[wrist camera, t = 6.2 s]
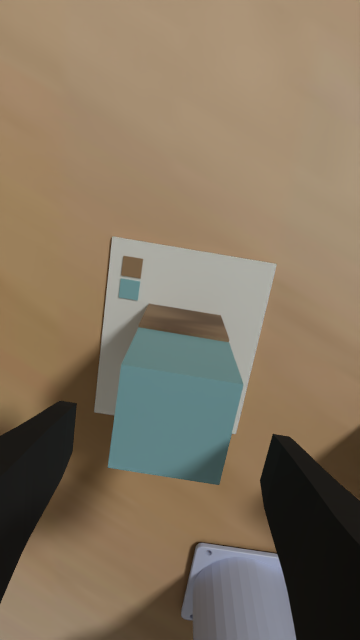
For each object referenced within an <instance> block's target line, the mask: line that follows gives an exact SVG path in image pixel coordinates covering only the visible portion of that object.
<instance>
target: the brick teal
mask: <svg viewBox="0 0 360 640" xmlns="http://www.w3.org/2000/svg"><path fill="white" fill-rule="evenodd" d="M243 385H244V384H243V381H242V378H241V375H240V372H239V370H238V367H237V364H236V361H235V358H234V355H233V352H232V349H231V346H230V343H229V342H223V341H217V340H211V339H206V338H200V337H194V336H188V335H182V334H176V333H170V332H164V331H158V330H152V329H146V328H140V327H138V330H137V332H136V334H135V336H134V338H133V340H132V342H131V345H130V347H129V349H128V351H127V353H126V355H125V357H124V360H123V362H122V364H121V370H120V378H119V385H118V393H117V401H116V408H115V416H114V424H113V431H112V439H111V447H110V454H109V462H108V468H114V469H120V470H126V471H133V472H139V473H146V474H152V475H158V476H165V477H171V478H178V479H184V480H190V481H197V482H203V483H210V484H216V485H219V484H220V479H221V475H222V471H223V467H224V463H225V459H226V455H227V451H228V447H229V443H230V439H231V434H232V430H233V426H234V422H235V418H236V414H237V410H238V406H239V402H240V398H241V393H242V389H243Z"/></svg>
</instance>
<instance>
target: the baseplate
mask: <svg viewBox="0 0 360 640" xmlns="http://www.w3.org/2000/svg"><path fill="white" fill-rule="evenodd" d="M276 265H277V264H275V263H269V262H263V261H257V260H251V259H245V258H239V257H233V256H227V255H221V254H215V253H209V252H203V251H197V250H191V249H185V248H179V247H173V246H167V245H161V244H155V243H149V242H143V241H137V240H131V239H125V238H120V237H114V236H113V237H112V244H111V254H110V264H109V273H108V283H107V292H106V302H105V312H104V321H103V331H102V341H101V350H100V360H99V370H98V379H97V389H96V398H95V408H94V412H96V413H102V414H109V415H115V408H116V401H117V393H118V385H119V378H120V370H121V364H122V362H123V360H124V357H125V355H126V353H127V351H128V349H129V347H130V345H131V342H132V340H133V338H134V336H135V334H136V332H137V330H138V325H139V323H140V321H141V319H142V316H143V314H144V312H145V310H146V308H147V306H148V304H155V305H161V306H167V307H173V308H180V309H186V310H192V311H198V312H204V313H210V314H216V315H221V317H222V320H223V323H224V326H225V328H226V331H227V334H228V337H229V343H230V346H231V349H232V352H233V355H234V358H235V361H236V364H237V367H238V370H239V372H240V375H241V378H242V381H243V384H244V385H243V389H242V393H241V398H240V402H239V406H238V410H237V414H236V418H235V422H234V426H233V430H232V434H236V431H237V427H238V423H239V419H240V414H241V410H242V406H243V402H244V398H245V394H246V390H247V385H248V381H249V377H250V373H251V369H252V365H253V361H254V356H255V352H256V348H257V344H258V340H259V336H260V332H261V327H262V323H263V319H264V315H265V311H266V307H267V303H268V298H269V294H270V290H271V286H272V282H273V278H274V274H275V269H276Z"/></svg>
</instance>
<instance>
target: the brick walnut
mask: <svg viewBox="0 0 360 640" xmlns="http://www.w3.org/2000/svg"><path fill="white" fill-rule="evenodd" d="M138 327H140V328H146V329H152V330H158V331H164V332H170V333H176V334H182V335H188V336H194V337H200V338H206V339H211V340H217V341H223V342H229V337H228V334H227V331H226V328H225V326H224V323H223V320H222V317H221V315H216V314H210V313H204V312H198V311H192V310H186V309H180V308H173V307H167V306H161V305H155V304H148V306H147V308H146V310H145V312H144V314H143V316H142V319H141V321H140V323H139V325H138Z"/></svg>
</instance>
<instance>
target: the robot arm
mask: <svg viewBox="0 0 360 640" xmlns="http://www.w3.org/2000/svg"><path fill="white" fill-rule="evenodd" d="M76 405H77V403H71V402H64V401H59V402H57V403H55V404H54V405H52V406H50V407H49V408H47V409H46V410H44V411H42V412H41V413H39V414H38V415H36V416H34V417H33V418H31V419H29V420H28V421H26V422H24V423H23V424H21V425H19V426H18V427H16V428H14V429H12V430H10V431H9V432H7V433H5V434H3V435H1V436H0V603H1V600H2V598H3V596H4V593H5V591H6V588H7V586H8V584H9V581H10V579H11V577H12V575H13V572H14V570H15V568H16V565H17V563H18V561H19V558H20V556H21V554H22V552H23V550H24V548H25V545H26V543H27V541H28V539H29V537H30V536H31V534H32V532H33V530H34V528H35V526H36V525H37V523H38V521H39V519H40V517H41V516H42V514H43V512H44V510H45V508H46V506H47V505H48V503H49V501H50V499H51V497H52V495H53V494H54V492H55V490H56V488H57V486H58V484H59V482H60V481H61V479H62V477H63V474H64V472H65V469H66V467H67V464H68V462H69V459H70V456H71V454H72V451H73V439H74V428H75V417H76ZM260 483H261V490H262V497H263V503H264V509H265V512H266V516H267V520H268V523H269V527H270V530H271V534H272V537H273V541H274V544H275V548H276V551H277V554H275V553H268V552H262V551H255V550H248V549H241V548H234V547H227V546H221V545H214V544H207V543H199V544H197V545H196V548H195V552H194V557H193V561H192V565H191V570H190V574H189V579H188V583H187V587H186V592H185V596H184V601H183V605H182V609H181V616H182V618H183V619H186V620H192V621H193V640H360V501H359V500H358V499H357V498H356V497H354V496H353V495H352V494H351V493H350V492H349V491H347V490H346V489H345V488H344V487H343V486H342V485H340V484H339V483H338V482H337V481H336V480H335V479H334V478H333V477H332V476H331V475H330V474H328V473H327V472H326V471H325V470H324V469H323V468H322V467H321V466H320V465H319V464H318V463H317V462H316V461H315V460H314V459H313V458H312V457H311V456H310V455H309V454H308V453H307V452H306V451H305V450H303V449H302V448H301V447H300V446H299V445H298V444H297V443H296V442H295V441H294V440H293V439H292V438H290V437H288V436H282V435H275V434H273V436H272V439H271V443H270V446H269V450H268V454H267V457H266V461H265V464H264V468H263V472H262V475H261V479H260ZM207 550H210V551H207Z"/></svg>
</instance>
